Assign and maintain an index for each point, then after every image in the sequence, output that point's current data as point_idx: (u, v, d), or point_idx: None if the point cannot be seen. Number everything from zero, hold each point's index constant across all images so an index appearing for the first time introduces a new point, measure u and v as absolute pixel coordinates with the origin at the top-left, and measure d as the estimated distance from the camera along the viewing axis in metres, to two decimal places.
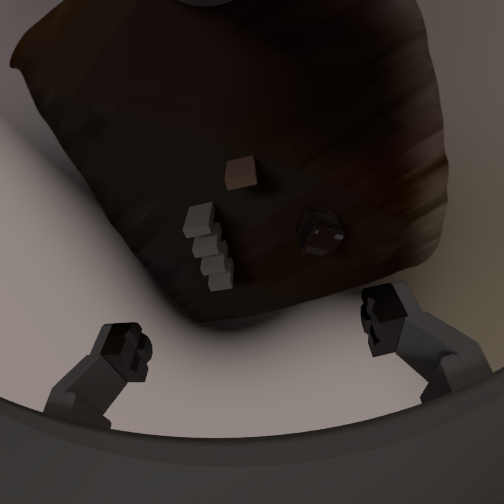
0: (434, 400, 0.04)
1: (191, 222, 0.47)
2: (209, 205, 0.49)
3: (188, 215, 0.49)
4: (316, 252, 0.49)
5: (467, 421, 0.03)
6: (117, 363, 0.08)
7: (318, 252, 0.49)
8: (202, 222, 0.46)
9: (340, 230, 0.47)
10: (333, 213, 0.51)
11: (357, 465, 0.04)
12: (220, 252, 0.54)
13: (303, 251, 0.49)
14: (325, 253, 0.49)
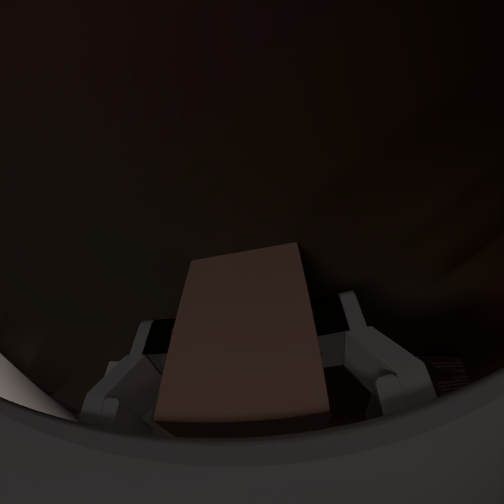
0: (434, 400, 0.04)
1: None
2: None
3: None
4: None
5: (467, 421, 0.03)
6: (161, 363, 0.08)
7: None
8: None
9: None
10: (462, 365, 0.16)
11: (357, 465, 0.04)
12: None
13: None
14: None
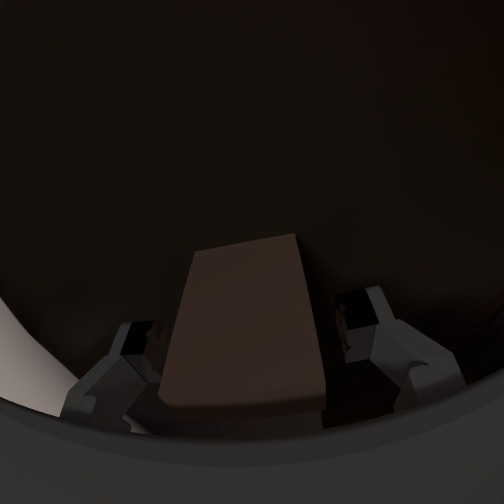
0: (434, 400, 0.04)
1: None
2: None
3: None
4: None
5: (467, 421, 0.03)
6: (138, 363, 0.08)
7: None
8: (294, 427, 0.10)
9: None
10: None
11: (357, 465, 0.04)
12: None
13: None
14: None
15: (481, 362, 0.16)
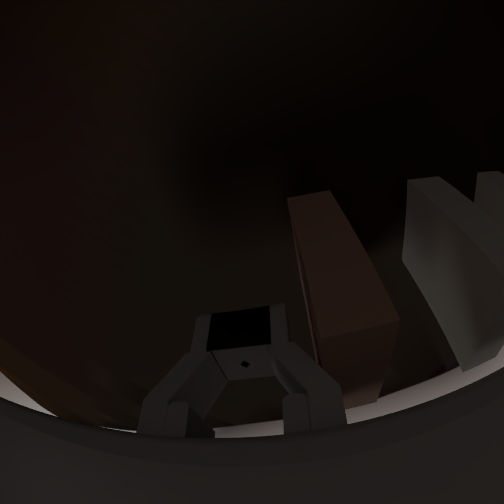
0: (434, 400, 0.04)
1: (457, 319, 0.08)
2: (419, 198, 0.10)
3: (426, 293, 0.11)
4: None
5: (467, 421, 0.03)
6: (227, 359, 0.08)
7: None
8: (482, 293, 0.06)
9: None
10: None
11: (357, 465, 0.04)
12: None
13: None
14: None
15: None
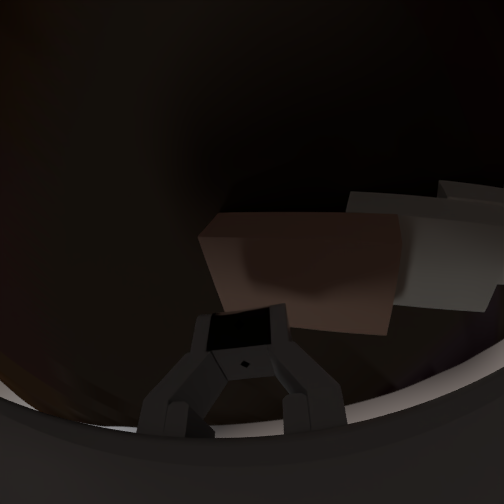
0: (434, 400, 0.04)
1: (464, 288, 0.09)
2: None
3: (408, 300, 0.11)
4: None
5: (467, 421, 0.03)
6: (227, 359, 0.08)
7: None
8: (490, 252, 0.08)
9: None
10: None
11: (357, 465, 0.04)
12: None
13: None
14: None
15: None
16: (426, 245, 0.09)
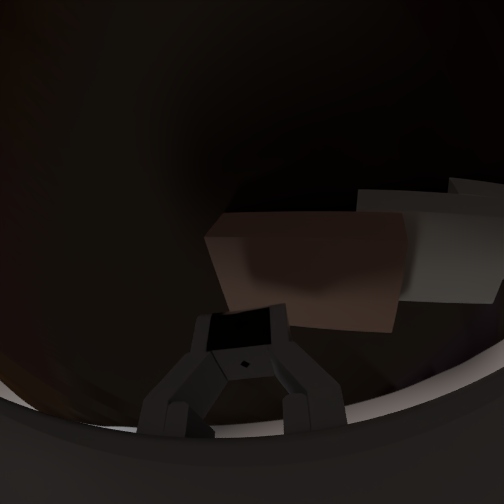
0: (434, 400, 0.04)
1: (472, 281, 0.09)
2: None
3: (418, 296, 0.11)
4: None
5: (467, 421, 0.03)
6: (227, 359, 0.08)
7: None
8: (497, 244, 0.08)
9: None
10: None
11: (357, 465, 0.04)
12: None
13: None
14: None
15: None
16: (436, 240, 0.09)
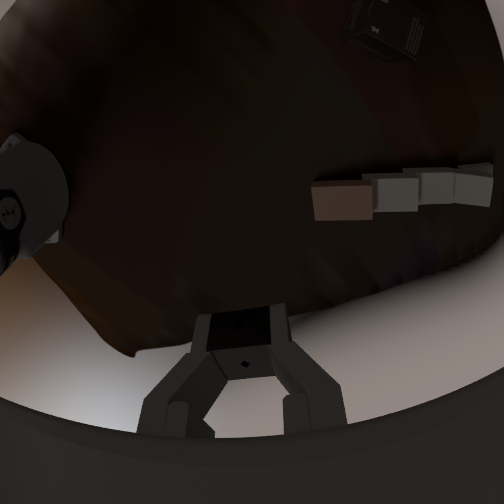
0: (434, 400, 0.04)
1: (405, 202, 0.30)
2: (372, 182, 0.30)
3: (386, 209, 0.32)
4: (417, 36, 0.16)
5: (467, 421, 0.03)
6: (227, 359, 0.08)
7: (417, 33, 0.16)
8: (411, 187, 0.29)
9: None
10: (354, 2, 0.19)
11: (357, 465, 0.04)
12: (471, 180, 0.28)
13: (414, 57, 0.18)
14: (419, 22, 0.15)
15: (384, 57, 0.22)
16: (388, 187, 0.30)
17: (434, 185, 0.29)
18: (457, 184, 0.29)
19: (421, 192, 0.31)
